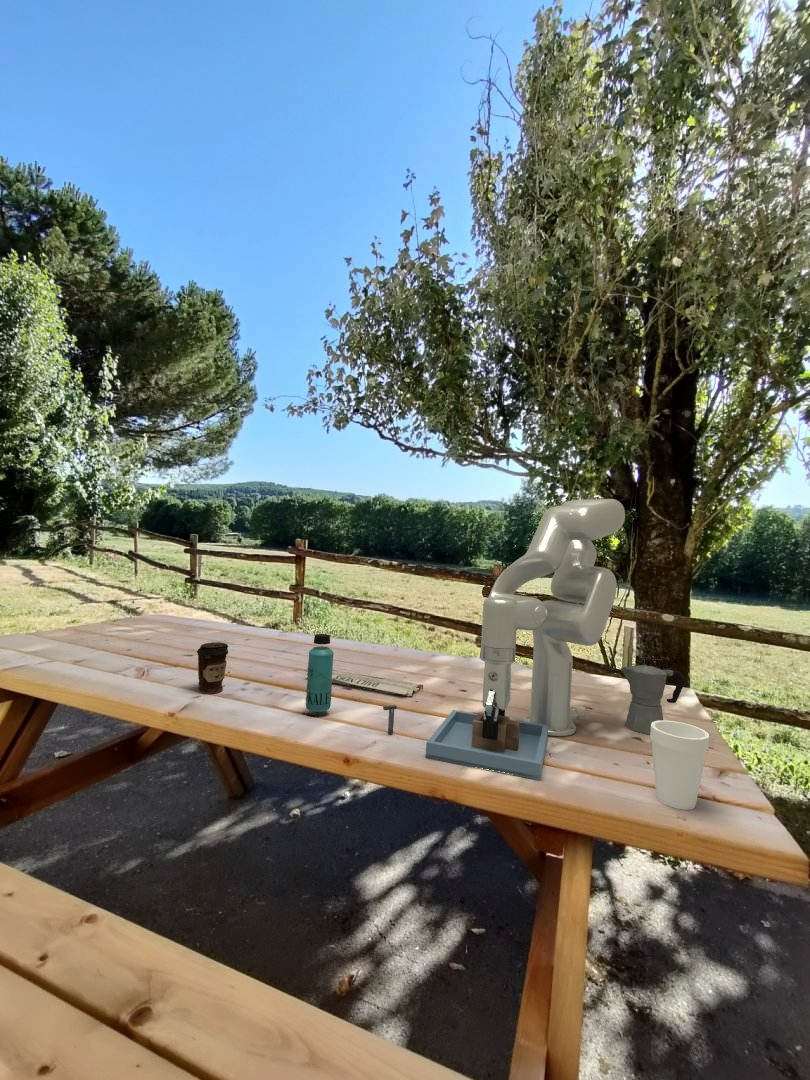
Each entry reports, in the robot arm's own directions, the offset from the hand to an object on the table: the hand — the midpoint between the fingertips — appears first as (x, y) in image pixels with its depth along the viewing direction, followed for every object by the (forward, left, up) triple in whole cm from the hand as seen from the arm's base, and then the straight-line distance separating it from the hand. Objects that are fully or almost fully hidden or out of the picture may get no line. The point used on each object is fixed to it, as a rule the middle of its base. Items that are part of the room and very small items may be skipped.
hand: (493, 731), depth 113 cm
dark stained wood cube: (0, 0, -3) cm, 3 cm away
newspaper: (+10, -53, -4) cm, 54 cm away
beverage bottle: (+30, -32, -4) cm, 45 cm away
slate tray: (0, 0, -4) cm, 4 cm away
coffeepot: (-47, +3, -4) cm, 47 cm away
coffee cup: (+53, -58, -4) cm, 79 cm away
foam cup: (-19, +31, -4) cm, 36 cm away
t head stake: (+18, -14, -4) cm, 24 cm away
